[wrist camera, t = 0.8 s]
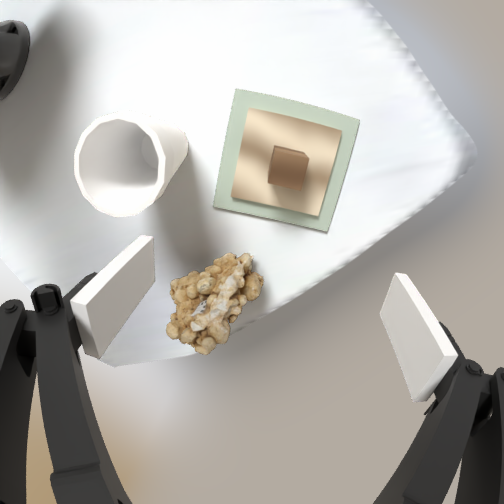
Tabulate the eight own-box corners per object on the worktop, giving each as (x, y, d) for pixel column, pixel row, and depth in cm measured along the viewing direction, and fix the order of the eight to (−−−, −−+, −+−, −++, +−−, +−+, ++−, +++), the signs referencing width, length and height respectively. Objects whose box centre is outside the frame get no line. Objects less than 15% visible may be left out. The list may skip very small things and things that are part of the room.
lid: (249, 107, 31) (245, 106, 26) (340, 130, 31) (353, 133, 26) (231, 194, 36) (224, 209, 31) (317, 214, 36) (325, 231, 31)
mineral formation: (169, 275, 42) (133, 345, 29) (237, 220, 38) (219, 284, 25) (207, 310, 45) (186, 386, 31) (275, 263, 40) (277, 339, 27)
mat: (236, 88, 30) (235, 88, 30) (358, 119, 31) (359, 119, 31) (213, 205, 37) (212, 206, 37) (326, 230, 38) (327, 231, 37)
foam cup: (211, 123, 32) (180, 129, 21) (188, 191, 36) (151, 231, 25) (142, 103, 31) (85, 103, 20) (124, 169, 35) (67, 198, 24)
